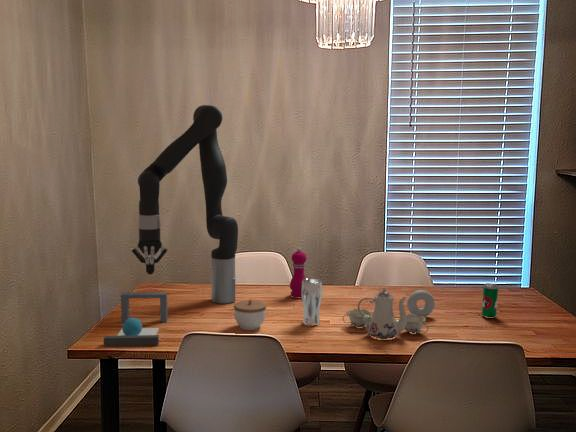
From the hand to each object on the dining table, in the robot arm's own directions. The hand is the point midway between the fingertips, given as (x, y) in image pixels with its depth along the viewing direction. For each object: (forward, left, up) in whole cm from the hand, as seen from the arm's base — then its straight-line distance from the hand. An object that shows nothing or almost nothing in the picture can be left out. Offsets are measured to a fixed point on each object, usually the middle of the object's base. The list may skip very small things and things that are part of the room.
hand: (150, 273), depth 199 cm
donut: (-97, +13, -14) cm, 99 cm away
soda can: (-122, +14, -14) cm, 124 cm away
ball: (+1, +29, -10) cm, 30 cm away
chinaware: (-80, +29, -14) cm, 86 cm away
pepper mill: (-56, -16, -14) cm, 60 cm away
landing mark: (0, +27, -14) cm, 30 cm away
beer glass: (-57, +18, -14) cm, 61 cm away
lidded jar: (-36, +21, -14) cm, 44 cm away
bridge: (0, +13, -14) cm, 19 cm away
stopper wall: (0, +36, -14) cm, 38 cm away
